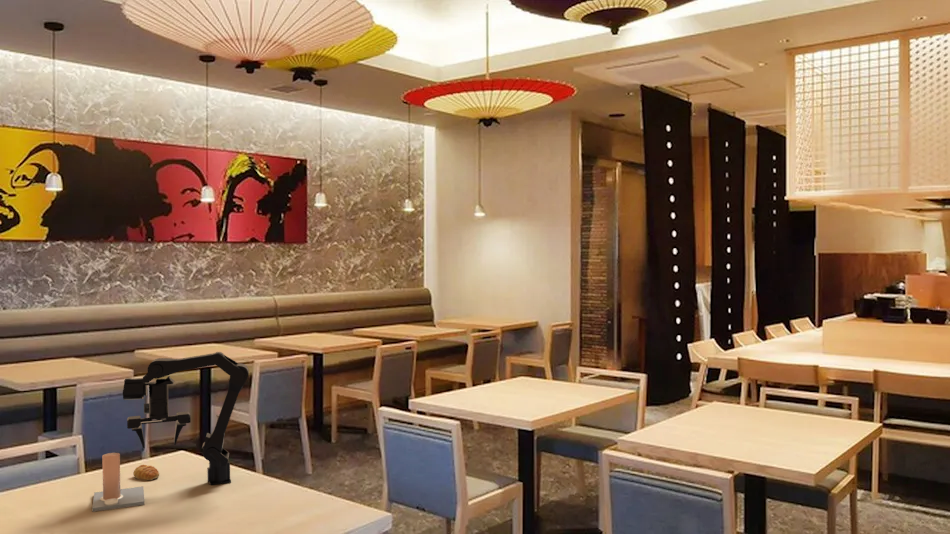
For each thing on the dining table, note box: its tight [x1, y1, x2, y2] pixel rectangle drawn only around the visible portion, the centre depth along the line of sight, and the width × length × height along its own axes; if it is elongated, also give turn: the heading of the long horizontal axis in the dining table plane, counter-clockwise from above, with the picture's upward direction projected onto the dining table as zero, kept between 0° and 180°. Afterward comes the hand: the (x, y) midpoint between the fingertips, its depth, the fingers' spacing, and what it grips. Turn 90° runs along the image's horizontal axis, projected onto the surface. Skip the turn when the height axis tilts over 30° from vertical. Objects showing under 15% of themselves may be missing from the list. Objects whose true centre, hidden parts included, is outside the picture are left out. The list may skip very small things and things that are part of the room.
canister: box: [101, 452, 121, 500], centre depth 232 cm, size 5×5×13 cm
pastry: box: [133, 464, 160, 481], centre depth 256 cm, size 9×7×4 cm
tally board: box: [91, 486, 145, 512], centre depth 233 cm, size 14×16×2 cm
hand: (159, 446), depth 246 cm, fingers open, 9 cm apart
